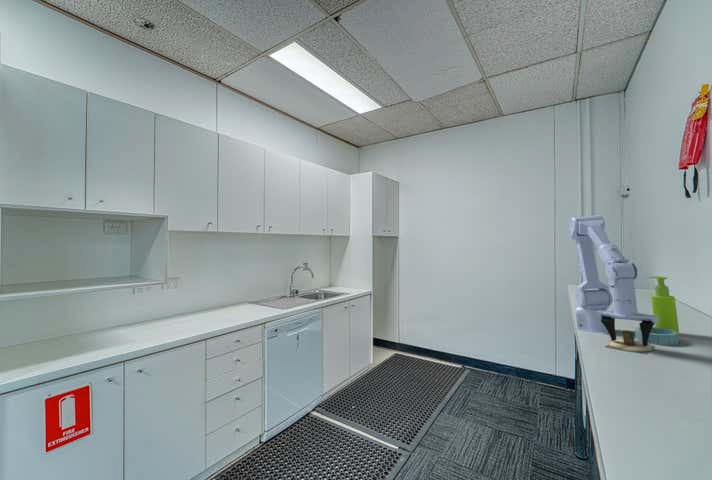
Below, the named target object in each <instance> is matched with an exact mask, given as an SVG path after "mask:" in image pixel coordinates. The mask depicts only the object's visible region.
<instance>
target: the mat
mask: <svg viewBox="0 0 712 480" xmlns="http://www.w3.org/2000/svg"><path fill="white" fill-rule="evenodd" d="M650 345H651V346H652V350H654V348H655V347H656V346H655V345H653V344H650ZM604 348H607V349H612V350H618V349H615V348H612V347H610V346H609V345H608V344H607V345H605V346H604ZM618 351H619V350H618ZM650 352H651V351H649V352H633V353H635V354H640V355H648V354H649V353H650Z"/></svg>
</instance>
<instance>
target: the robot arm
mask: <svg viewBox="0 0 712 480" xmlns="http://www.w3.org/2000/svg"><path fill="white" fill-rule="evenodd" d="M605 226H606V222H605V218H604V217H603V216H602V215H601V214H596V215H587V216H578V217H575V216H573V217H571V218H570V219H569V221H568V229H569V234H570V238H571V240H574V241H575V243H576V247H577V248H576V249H577V254H578V259H579V264H580V269H581V275H582V282H581V283H580V284H579V285H577V286H576V288H575V290H576V293H575V295H576V297H575V298H576V299H575V300H576V303H577V304H578V306H577V307H576V308H575V309H576V310H575V318H576V326H577V328H576V331H580V332H581V331H582V332H591V333H596V334H603V335H608V334H609V337H610V340H612V341H615V340H616V339H617V333H616V325H615V324H616V320H615V319H618V320H627V321H636V322H638V321H639V327H640V328H641V332H642V343H643V346H647V345H648V344H649V343H648V338H649V334H650V332H651V329H652V327H654V326H655V325H654V324H655V323H658V322H659V321H658V316H655V315H653V314H647V313H641V312H639V311H638V304H637V296H636V295H637V294H636V288H635V287H636V286H635V280H636V279H637V277H638V274H639V273H638V268H637V265H636V264H635V263H634V261H632V260H630V259H627V258H625V256H624V255H623V253H622V252H621V250H620V249H619V248H618V246H617V245H616V244H612V243H611V241H610V240H609V238H608V236H607V234H606V231H605V228H606V227H605ZM593 242H594V244H595V246H597V248H598V250H597V252H596V253H597V255H598V256H599V258H600V260H601V261H602V263H603V265H604V267H605V268H604V274H605V276H606V278H607V282H608V285H609V286H610V288H611V289H610V288H609V286H608V285H607V284H605V283H604V282H601V281H600V277H599V272H598V266H597V261H596V257H595V256H596V255H595V251H594V246H593ZM610 290H611V291H610ZM611 305H612V306H613V310H608V309H609V308H610V306H611Z"/></svg>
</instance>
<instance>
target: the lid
mask: <svg viewBox="0 0 712 480" xmlns="http://www.w3.org/2000/svg"><path fill="white" fill-rule="evenodd" d="M621 332H622V338H620V339H619V338H616V340H615V341H612V340H611V339H610V340H609V341H607V345H609V346H610V347H612V348H615V349H614V350H617V349H618V351H624V352H628V353H634V352H649V351H650V352H652V351H653V349H652V346H653V345H652V344H650V343H648V345H647V346H643V343H642V342H641V341H639V340H637V339H635V335H634V334H635V332H634V331H633V330H628V329H627V330H626V329H625V330H622V331H621ZM651 345H652V346H651ZM650 352H649V353H650Z"/></svg>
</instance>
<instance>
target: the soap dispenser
mask: <svg viewBox="0 0 712 480" xmlns="http://www.w3.org/2000/svg"><path fill="white" fill-rule="evenodd" d="M648 279H654V280H655V279H656V280H657V284H656V285H655V286H654V290H655V291H654V292H655V294H654V295H651V296H650V298H651V305H652V306H651V307H652V315H655V316H658V321H659V322H658V323H655V324H654V325H653V326H654V327H658V328H666V329H670V330H674V331H676V332H678V337H679V336H680V329H679V320H678V314H677V306H676V305H677V303H676V297H675V296H673V295H670V290H669V286H667V285H666V284H665V280H667V279H668V277H665V276H660V275H658V276H648Z"/></svg>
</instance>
